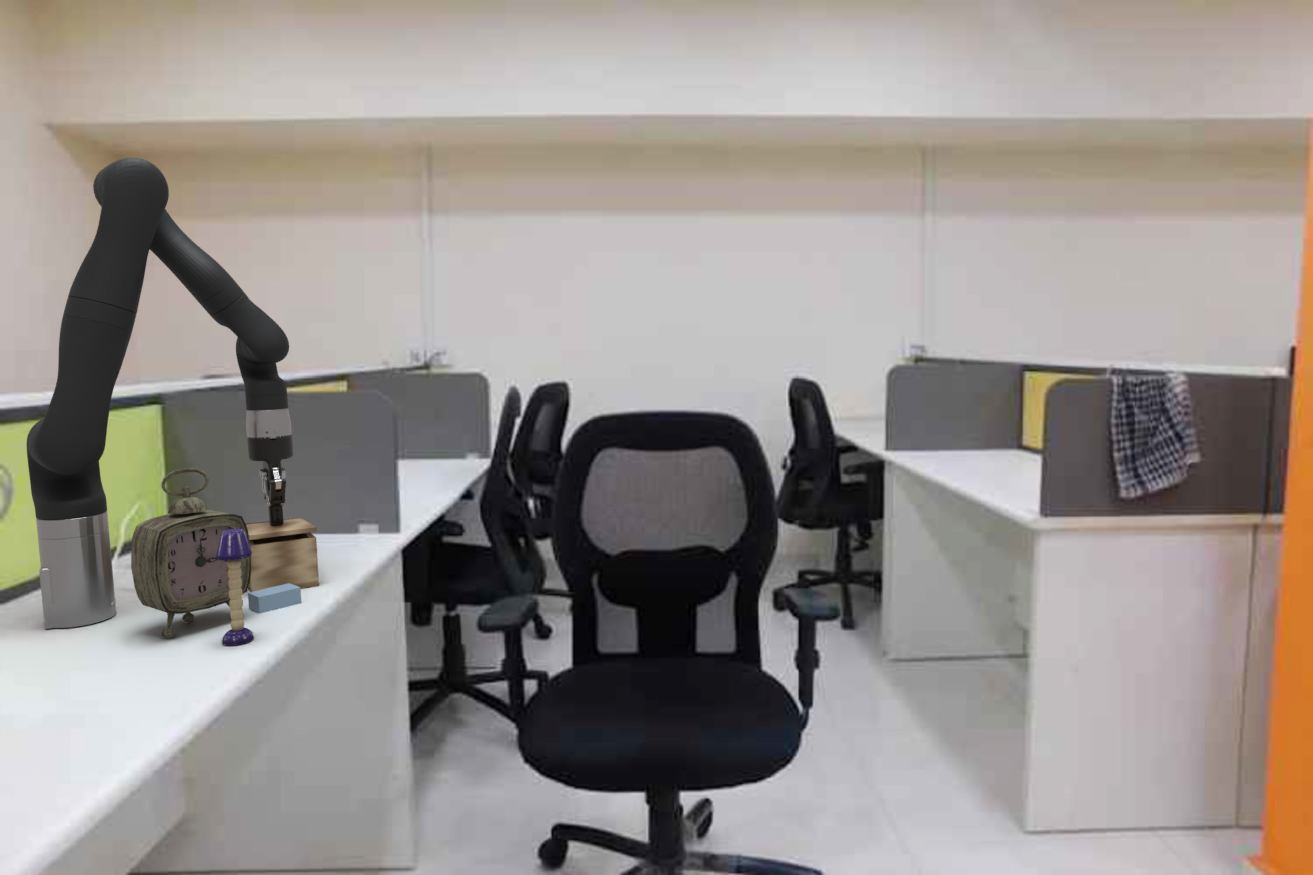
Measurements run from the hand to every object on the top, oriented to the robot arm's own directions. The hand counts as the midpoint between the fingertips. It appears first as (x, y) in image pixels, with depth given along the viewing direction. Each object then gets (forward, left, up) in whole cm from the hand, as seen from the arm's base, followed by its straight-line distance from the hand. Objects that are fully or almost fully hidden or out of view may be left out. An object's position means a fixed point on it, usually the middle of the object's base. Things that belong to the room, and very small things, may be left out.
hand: (276, 524), depth 150 cm
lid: (0, -1, -1) cm, 2 cm away
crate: (0, -1, -10) cm, 10 cm away
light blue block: (-3, -17, -11) cm, 21 cm away
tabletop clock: (-15, -20, -11) cm, 28 cm away
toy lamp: (-10, -32, -11) cm, 36 cm away
